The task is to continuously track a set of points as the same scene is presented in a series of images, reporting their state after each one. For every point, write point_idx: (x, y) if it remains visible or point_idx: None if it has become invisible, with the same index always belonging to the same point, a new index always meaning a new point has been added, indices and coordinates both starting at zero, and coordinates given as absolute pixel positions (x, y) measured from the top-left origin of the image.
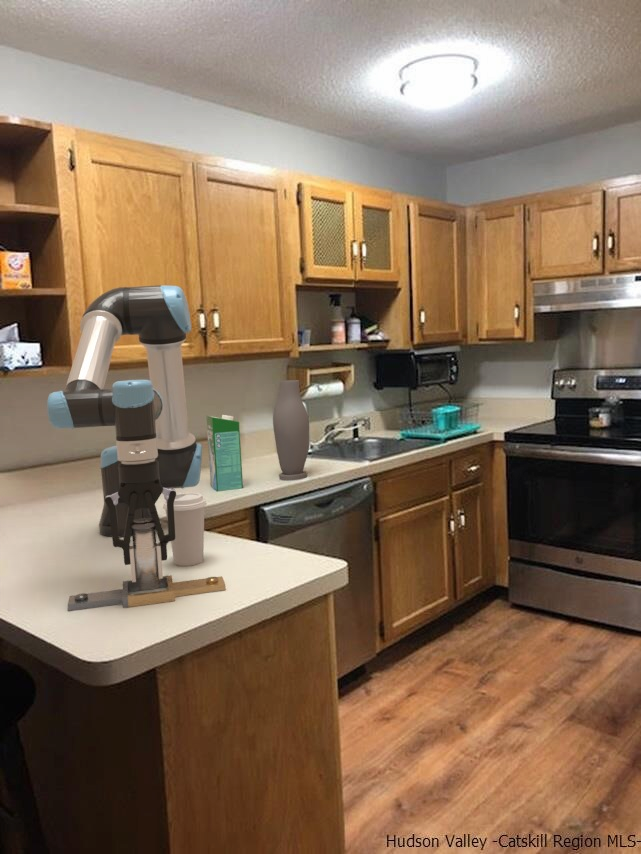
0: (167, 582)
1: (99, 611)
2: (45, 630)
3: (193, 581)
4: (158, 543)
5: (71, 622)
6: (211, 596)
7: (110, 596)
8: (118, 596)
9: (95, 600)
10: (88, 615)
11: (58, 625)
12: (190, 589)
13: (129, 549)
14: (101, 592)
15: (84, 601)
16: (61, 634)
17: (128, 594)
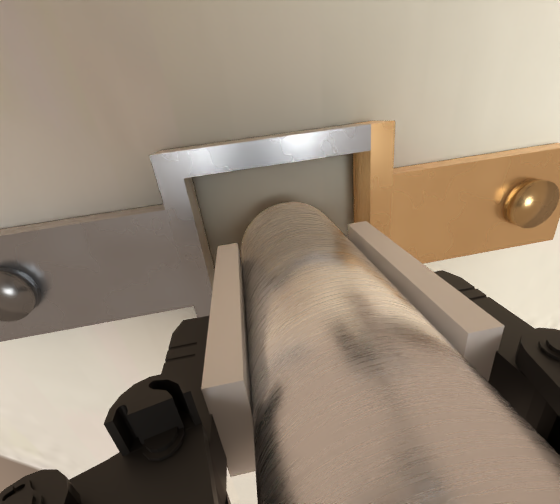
0: (368, 208)
1: (134, 341)
2: (20, 441)
3: (465, 183)
4: (483, 354)
5: (75, 404)
6: (477, 276)
7: (141, 287)
8: (177, 291)
9: (91, 317)
10: (108, 365)
11: (42, 418)
12: (436, 260)
13: (230, 475)
14: (76, 235)
15: (46, 322)
16: (87, 459)
17: (205, 240)
